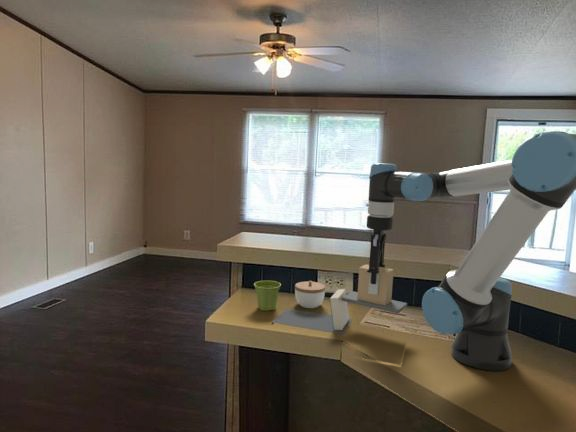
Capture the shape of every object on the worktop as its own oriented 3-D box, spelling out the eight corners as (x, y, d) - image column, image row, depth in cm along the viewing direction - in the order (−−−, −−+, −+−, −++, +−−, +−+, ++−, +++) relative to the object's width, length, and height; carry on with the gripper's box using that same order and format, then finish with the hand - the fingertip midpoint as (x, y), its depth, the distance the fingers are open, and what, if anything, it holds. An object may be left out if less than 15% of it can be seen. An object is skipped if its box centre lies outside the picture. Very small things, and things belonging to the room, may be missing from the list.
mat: (352, 320, 147) (352, 318, 147) (343, 336, 134) (343, 334, 134) (286, 310, 155) (286, 308, 155) (271, 324, 142) (271, 322, 142)
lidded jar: (325, 312, 154) (326, 286, 153) (294, 311, 154) (295, 284, 153) (323, 302, 165) (324, 277, 163) (294, 301, 165) (295, 276, 163)
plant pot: (249, 310, 153) (249, 286, 152) (258, 302, 162) (259, 279, 161) (275, 314, 150) (276, 289, 149) (283, 305, 159) (284, 282, 158)
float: (407, 306, 136) (409, 271, 134) (397, 313, 129) (400, 276, 127) (352, 294, 145) (354, 261, 144) (341, 300, 139) (343, 265, 137)
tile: (349, 319, 145) (345, 289, 145) (342, 330, 136) (338, 297, 135) (340, 319, 146) (337, 289, 146) (333, 330, 137) (329, 298, 136)
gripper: (372, 211, 143) (367, 281, 147) (361, 218, 126) (356, 297, 129) (396, 213, 141) (391, 284, 144) (388, 220, 123) (382, 301, 127)
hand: (374, 290), depth 137 cm, fingers closed on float, 6 cm apart
